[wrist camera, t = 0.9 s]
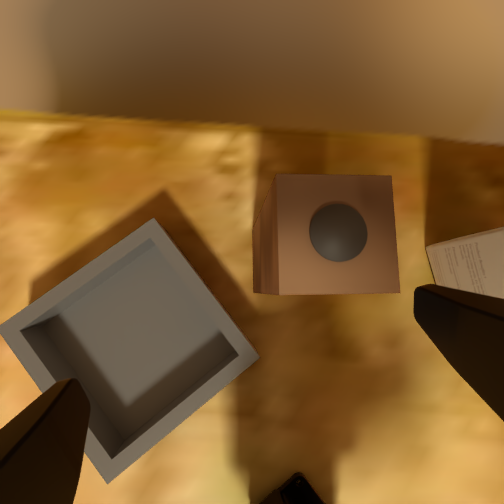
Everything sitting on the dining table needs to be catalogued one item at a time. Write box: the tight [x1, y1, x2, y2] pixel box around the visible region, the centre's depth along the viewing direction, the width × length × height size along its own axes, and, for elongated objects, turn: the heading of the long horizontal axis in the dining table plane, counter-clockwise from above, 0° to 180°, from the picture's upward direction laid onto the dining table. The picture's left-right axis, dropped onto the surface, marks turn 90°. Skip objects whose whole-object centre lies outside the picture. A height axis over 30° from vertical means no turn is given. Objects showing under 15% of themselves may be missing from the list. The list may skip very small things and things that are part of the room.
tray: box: [0, 218, 260, 484], centre depth 21 cm, size 12×12×3 cm
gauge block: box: [252, 174, 400, 295], centre depth 18 cm, size 5×5×12 cm
